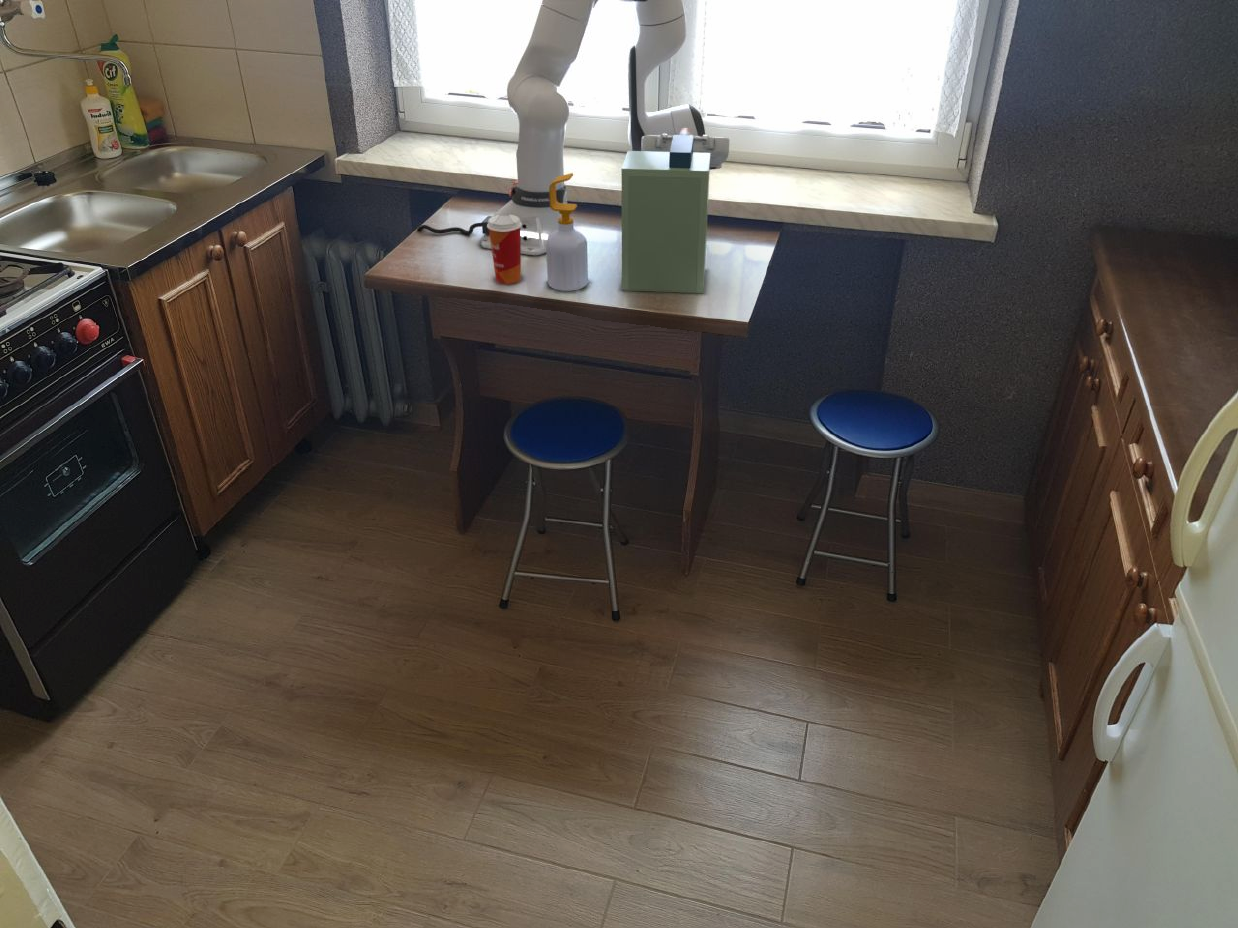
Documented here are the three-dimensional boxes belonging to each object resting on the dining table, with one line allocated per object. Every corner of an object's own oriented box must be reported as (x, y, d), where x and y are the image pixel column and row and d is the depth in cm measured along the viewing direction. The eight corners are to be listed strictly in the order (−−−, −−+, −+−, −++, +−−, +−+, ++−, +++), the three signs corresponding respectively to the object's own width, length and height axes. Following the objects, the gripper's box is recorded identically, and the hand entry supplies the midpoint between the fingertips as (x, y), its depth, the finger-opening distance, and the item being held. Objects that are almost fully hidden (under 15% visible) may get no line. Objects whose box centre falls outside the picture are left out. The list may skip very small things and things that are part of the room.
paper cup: (492, 273, 221) (486, 214, 213) (525, 272, 221) (521, 213, 213) (491, 286, 214) (485, 226, 206) (525, 285, 215) (521, 225, 207)
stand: (627, 267, 223) (627, 150, 208) (704, 270, 221) (710, 153, 206) (621, 290, 212) (621, 168, 197) (702, 293, 211) (708, 171, 196)
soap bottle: (583, 293, 211) (579, 182, 197) (543, 290, 213) (537, 180, 199) (592, 277, 218) (589, 170, 205) (553, 274, 220) (548, 167, 206)
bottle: (675, 140, 215) (675, 126, 213) (694, 141, 214) (695, 126, 212) (669, 167, 198) (669, 152, 196) (690, 168, 197) (691, 152, 195)
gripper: (643, 139, 228) (639, 122, 214) (729, 142, 226) (730, 125, 212) (641, 166, 228) (637, 151, 214) (727, 169, 226) (728, 154, 213)
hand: (684, 138), depth 213 cm, fingers open, 8 cm apart
